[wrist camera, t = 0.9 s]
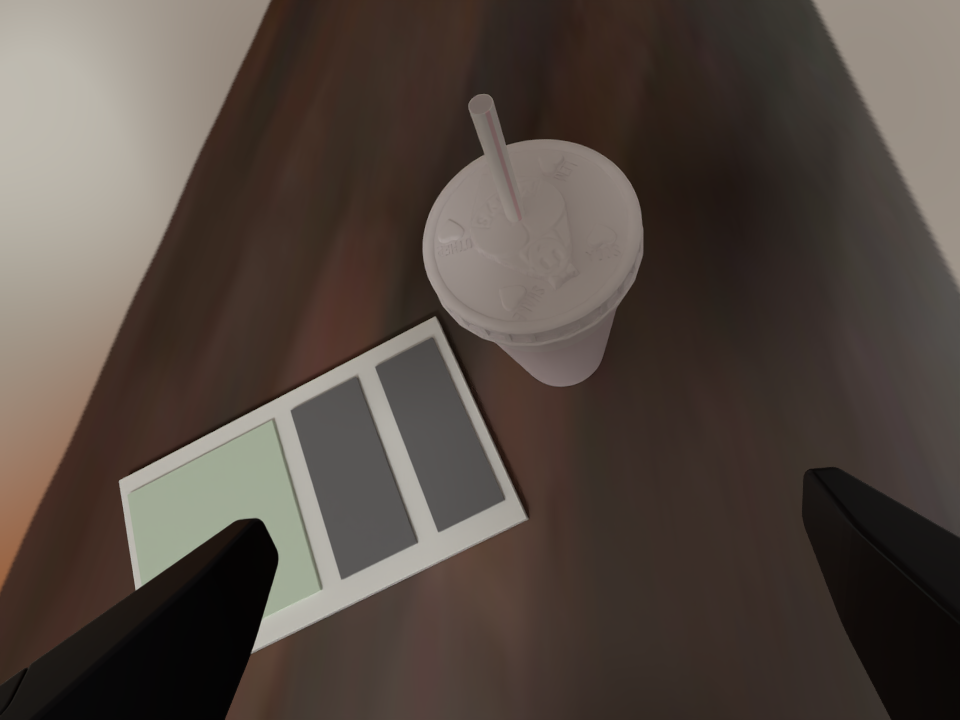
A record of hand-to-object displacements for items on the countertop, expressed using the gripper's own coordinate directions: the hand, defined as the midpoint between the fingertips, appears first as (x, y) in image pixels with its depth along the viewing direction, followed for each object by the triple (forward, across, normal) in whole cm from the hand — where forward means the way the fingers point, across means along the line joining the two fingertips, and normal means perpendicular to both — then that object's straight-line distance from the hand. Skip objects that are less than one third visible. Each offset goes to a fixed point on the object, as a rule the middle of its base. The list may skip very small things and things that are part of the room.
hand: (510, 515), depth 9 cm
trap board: (+11, +12, +8) cm, 18 cm away
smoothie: (+16, 0, +5) cm, 16 cm away
